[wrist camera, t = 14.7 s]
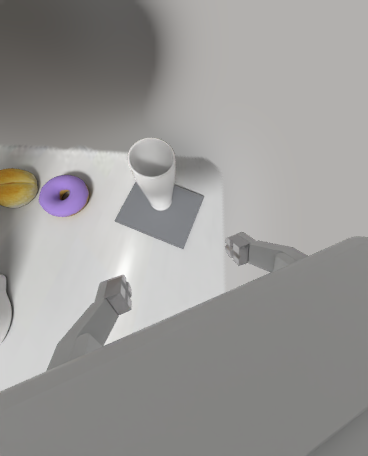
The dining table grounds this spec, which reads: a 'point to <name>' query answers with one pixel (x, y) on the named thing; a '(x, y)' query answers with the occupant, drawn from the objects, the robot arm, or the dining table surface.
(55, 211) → the donut
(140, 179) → the drinking glass
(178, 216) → the rubber mat
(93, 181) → the dining table surface
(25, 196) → the bread roll
